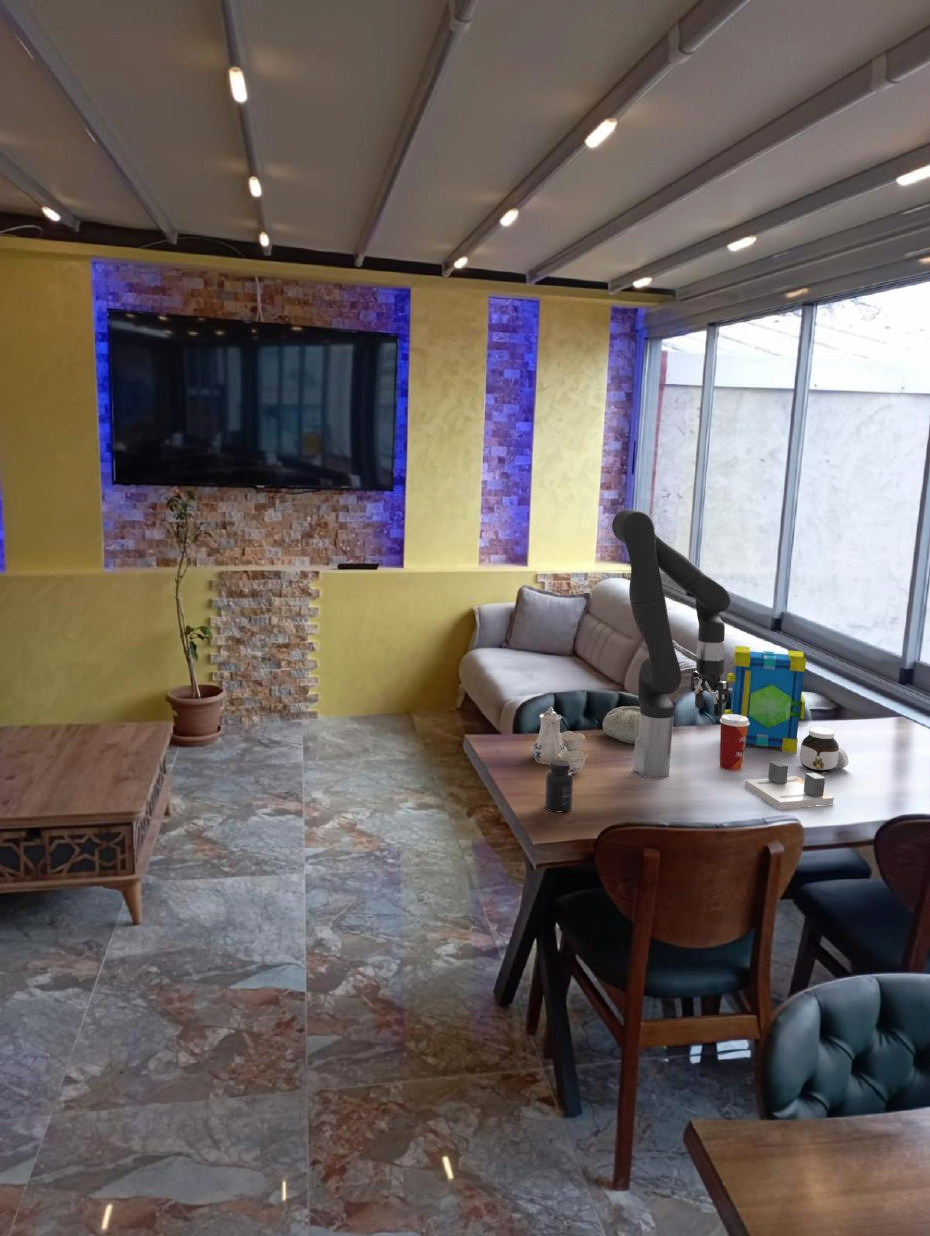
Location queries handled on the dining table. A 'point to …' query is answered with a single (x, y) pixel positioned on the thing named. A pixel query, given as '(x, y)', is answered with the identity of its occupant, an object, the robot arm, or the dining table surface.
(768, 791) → the panel
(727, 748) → the coffee cup
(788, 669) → the blue yellow rectangular box
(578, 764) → the chinaware
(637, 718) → the decorative shell
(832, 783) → the dining table surface
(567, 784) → the supplement bottle
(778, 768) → the block
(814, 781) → the breaker
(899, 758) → the dining table surface
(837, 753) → the spread jar
